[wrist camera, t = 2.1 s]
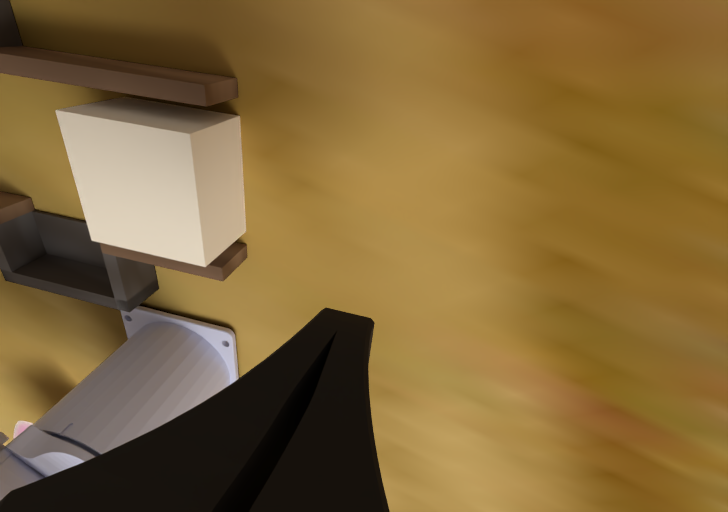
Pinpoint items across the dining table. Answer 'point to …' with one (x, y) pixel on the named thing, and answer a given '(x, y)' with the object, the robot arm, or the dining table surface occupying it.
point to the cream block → (157, 176)
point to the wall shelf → (71, 236)
